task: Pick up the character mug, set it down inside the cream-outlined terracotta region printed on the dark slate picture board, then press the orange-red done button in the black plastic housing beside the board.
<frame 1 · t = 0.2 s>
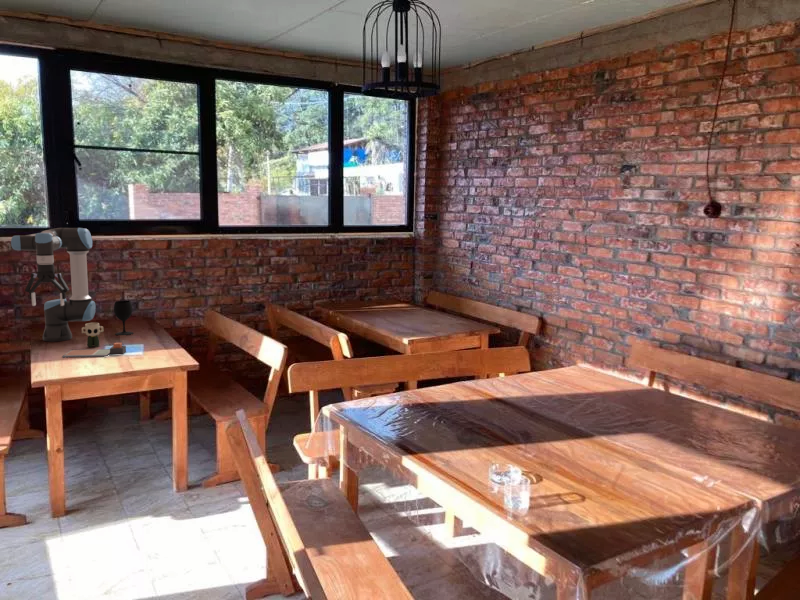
hand: (48, 305, 324), 28 cm above the table, tool pointing down, fingers open, 13 cm apart
wine glass: (124, 334, 391), on the table
picture board: (89, 354, 339), on the table
button housing: (118, 353, 342), on the table
button cap: (117, 346, 341), point 4 cm above the table, slide at 0.0 cm
character mug: (93, 346, 356), on the table
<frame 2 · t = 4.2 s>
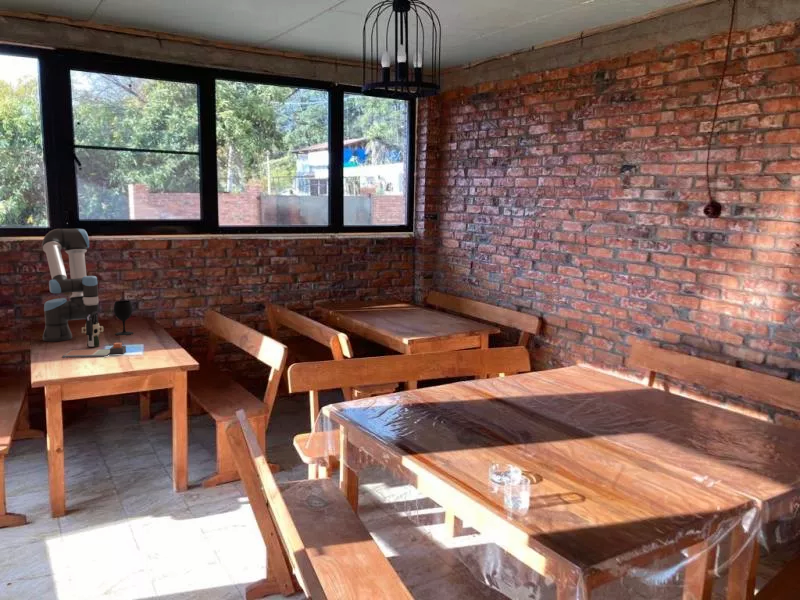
hand: (93, 344, 356), 1 cm above the table, tool pointing down, fingers closed on character mug, 7 cm apart
character mug: (93, 346, 356), on the table, touching gripper
everything else where it was.
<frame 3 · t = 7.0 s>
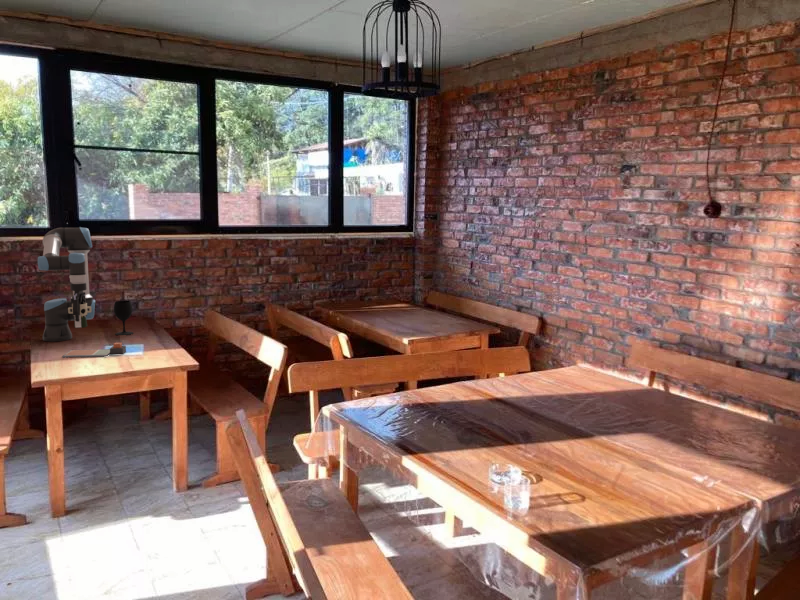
hand: (80, 325, 337), 15 cm above the table, tool pointing down, fingers closed on character mug, 7 cm apart
character mug: (80, 328, 337), point 14 cm above the table, touching gripper
everything else where it was.
when the fingers open (4 cm above the table, at t = 10.0 s): character mug drops 1 cm, resting on picture board.
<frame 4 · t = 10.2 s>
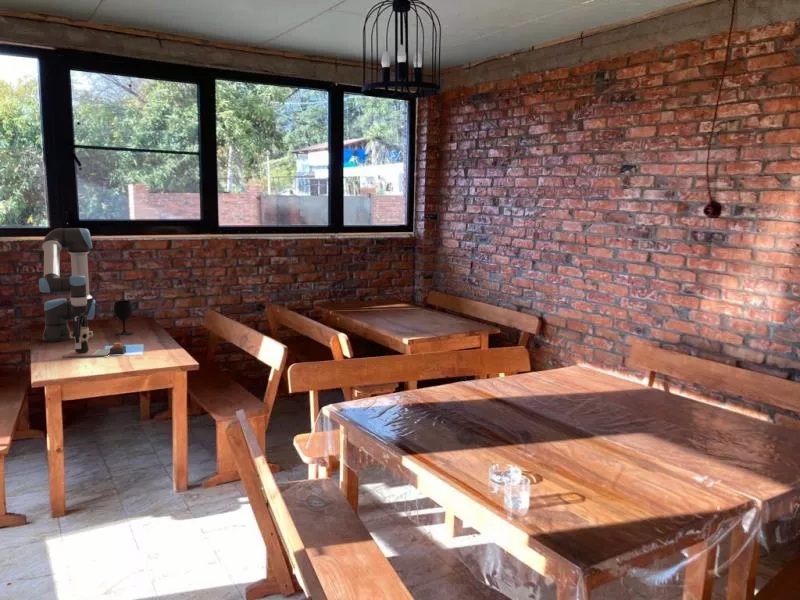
hand: (81, 346, 338), 4 cm above the table, tool pointing down, fingers open, 10 cm apart
character mug: (82, 352, 339), point 1 cm above the table, touching picture board
everything else where it was.
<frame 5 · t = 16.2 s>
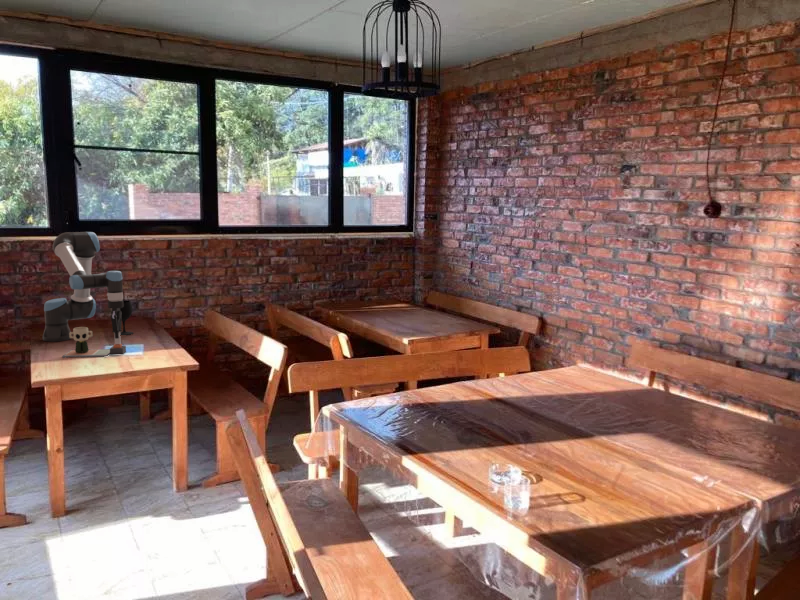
hand: (117, 343, 341), 5 cm above the table, tool pointing down, fingers closed
button cap: (117, 347, 341), point 3 cm above the table, slide at 0.5 cm, touching gripper
everything else where it was.
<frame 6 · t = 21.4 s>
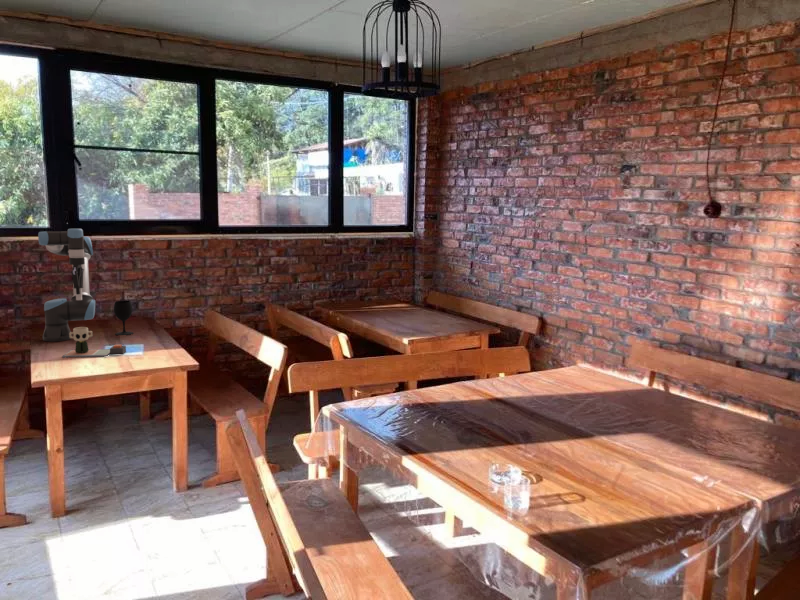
hand: (79, 299, 351), 26 cm above the table, tool pointing down, fingers closed
button cap: (117, 347, 341), point 3 cm above the table, slide at 1.0 cm
everything else where it was.
at the end: character mug inside the target area (0.1 cm from its centre), point 0.8 cm above the table; character mug tilted 0°; button cap slide at 1.0 cm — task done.
